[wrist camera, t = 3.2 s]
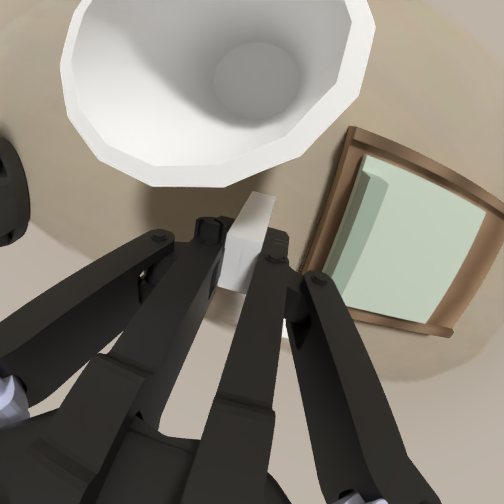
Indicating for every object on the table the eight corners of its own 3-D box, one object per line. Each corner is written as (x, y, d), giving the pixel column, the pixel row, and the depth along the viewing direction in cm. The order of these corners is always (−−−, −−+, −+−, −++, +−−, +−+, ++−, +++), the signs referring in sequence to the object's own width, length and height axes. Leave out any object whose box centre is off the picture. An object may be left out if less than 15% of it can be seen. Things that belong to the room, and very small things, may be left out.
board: (296, 286, 23) (295, 305, 21) (349, 125, 17) (356, 126, 14) (441, 321, 23) (449, 338, 21) (504, 204, 16) (519, 214, 14)
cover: (313, 291, 21) (314, 315, 18) (364, 153, 15) (375, 160, 13) (422, 317, 20) (432, 339, 18) (481, 208, 15) (500, 222, 12)
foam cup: (174, 112, 18) (36, 129, 7) (226, 10, 13) (139, -82, 2) (287, 165, 19) (268, 246, 7) (347, 60, 14) (421, -16, 3)
